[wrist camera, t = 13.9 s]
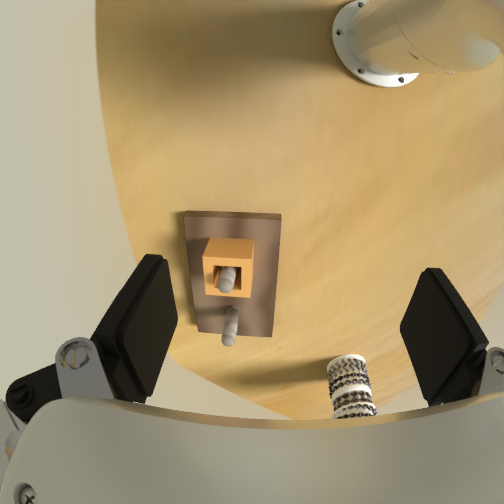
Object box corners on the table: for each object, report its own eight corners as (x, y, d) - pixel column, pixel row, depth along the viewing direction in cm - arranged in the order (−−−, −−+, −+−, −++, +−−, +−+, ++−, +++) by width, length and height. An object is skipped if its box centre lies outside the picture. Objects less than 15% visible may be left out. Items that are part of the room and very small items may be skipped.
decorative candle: (352, 346, 51) (373, 464, 30) (374, 363, 54) (396, 467, 33) (316, 367, 55) (323, 478, 34) (340, 382, 58) (351, 482, 37)
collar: (254, 239, 39) (251, 259, 34) (253, 275, 42) (250, 297, 38) (210, 237, 39) (202, 256, 35) (212, 273, 42) (205, 294, 38)
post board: (281, 214, 39) (282, 249, 31) (272, 329, 50) (270, 371, 42) (187, 210, 39) (165, 243, 31) (200, 324, 51) (189, 364, 43)
